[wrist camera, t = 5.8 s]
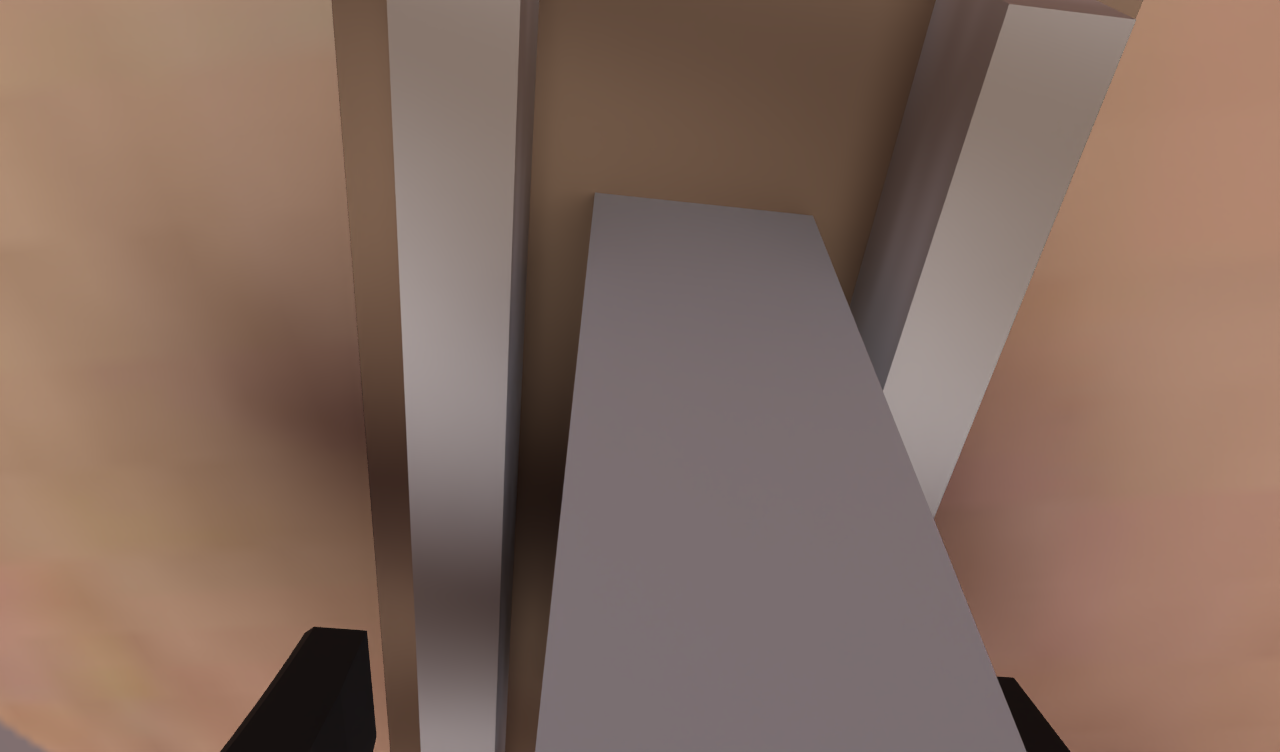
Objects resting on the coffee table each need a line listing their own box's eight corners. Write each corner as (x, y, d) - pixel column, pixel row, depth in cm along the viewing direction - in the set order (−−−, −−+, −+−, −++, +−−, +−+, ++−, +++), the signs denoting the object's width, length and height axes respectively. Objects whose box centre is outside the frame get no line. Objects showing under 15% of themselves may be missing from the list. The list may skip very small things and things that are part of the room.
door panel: (697, 699, 17) (734, 1294, 10) (550, 688, 17) (492, 1288, 10) (812, 215, 11) (1060, 835, 5) (594, 192, 11) (530, 804, 4)
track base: (791, 781, 21) (815, 942, 18) (410, 757, 20) (372, 919, 18) (1090, -34, 11) (1249, 33, 8) (360, -126, 10) (252, -90, 8)
